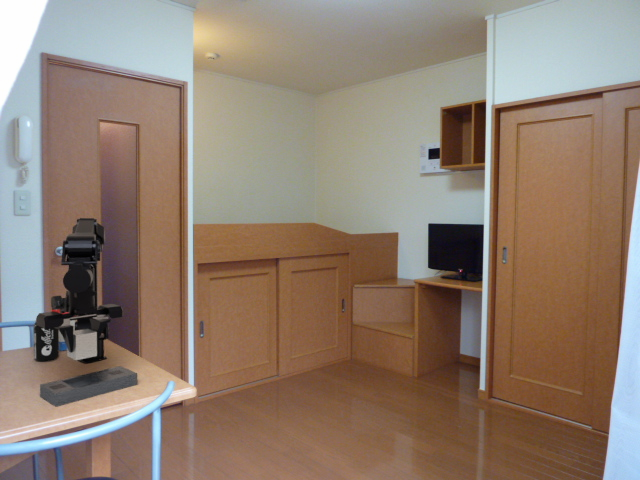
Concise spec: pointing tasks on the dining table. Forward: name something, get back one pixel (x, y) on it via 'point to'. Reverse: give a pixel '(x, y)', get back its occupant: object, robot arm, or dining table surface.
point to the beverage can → (45, 343)
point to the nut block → (83, 344)
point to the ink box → (61, 340)
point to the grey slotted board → (87, 385)
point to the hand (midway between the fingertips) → (82, 350)
